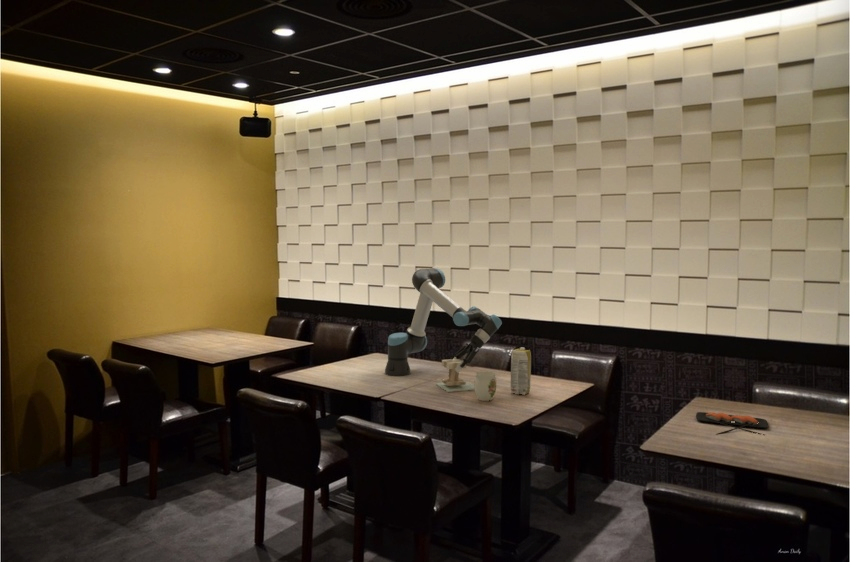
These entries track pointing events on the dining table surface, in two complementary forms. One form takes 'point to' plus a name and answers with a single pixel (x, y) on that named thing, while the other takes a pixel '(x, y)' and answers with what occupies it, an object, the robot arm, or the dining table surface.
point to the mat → (456, 387)
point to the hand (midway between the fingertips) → (452, 369)
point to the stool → (452, 372)
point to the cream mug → (485, 385)
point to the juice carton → (520, 371)
